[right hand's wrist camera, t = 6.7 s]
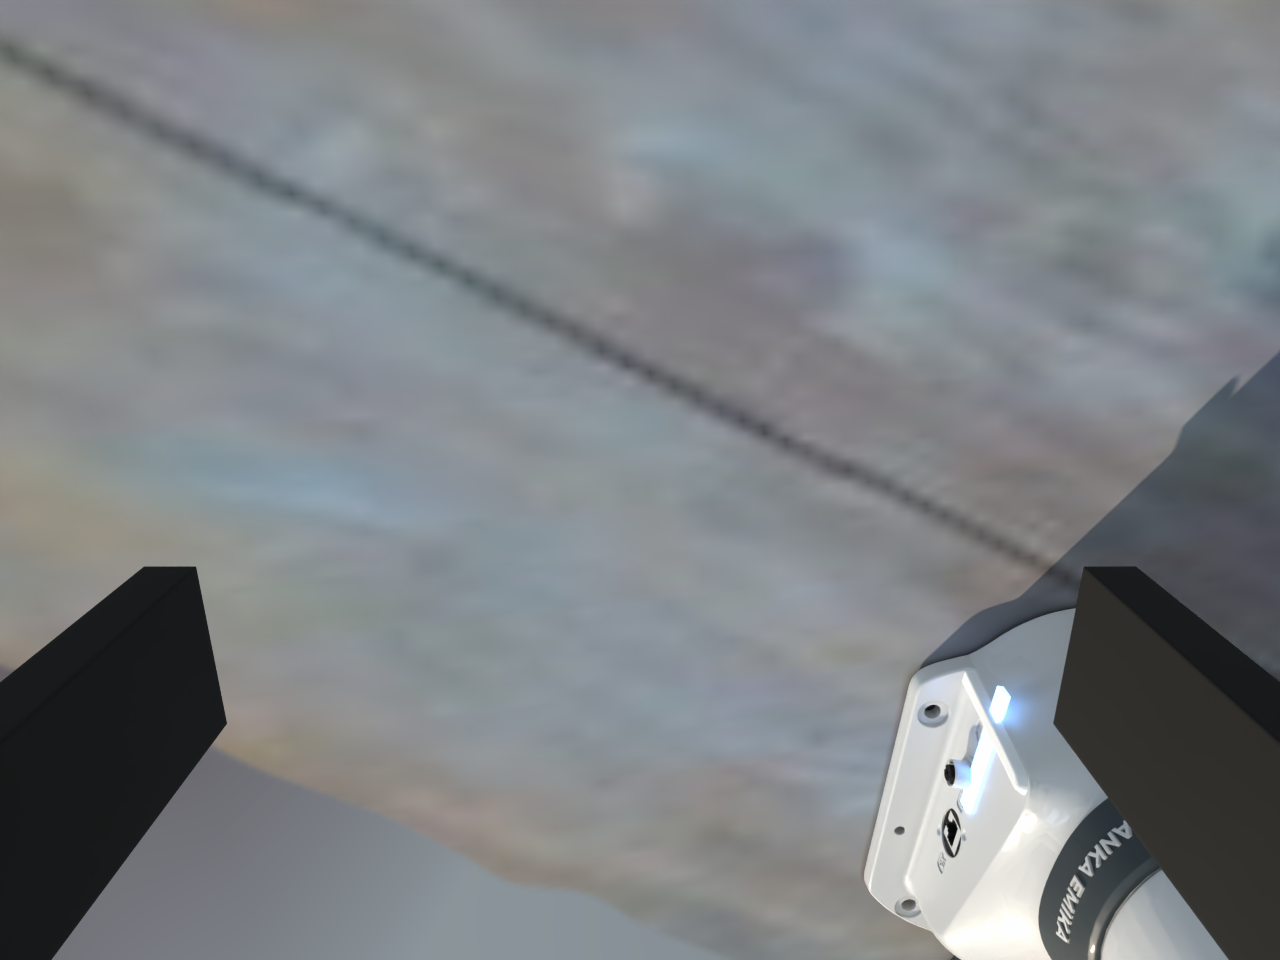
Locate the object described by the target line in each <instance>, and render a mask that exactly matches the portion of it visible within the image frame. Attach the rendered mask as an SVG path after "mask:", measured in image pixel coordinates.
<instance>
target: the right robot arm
mask: <svg viewBox="0 0 1280 960" xmlns="http://www.w3.org/2000/svg"><path fill="white" fill-rule="evenodd" d="M226 724H227V722H226V716H225V711H224V706H223V701H222V696H221V691H220V686H219V681H218V676H217V671H216V666H215V661H214V656H213V650H212V645H211V640H210V635H209V630H208V625H207V620H206V615H205V610H204V605H203V600H202V595H201V590H200V585H199V579H198V574H197V569H196V567H143V568H142V569H141V570H139V571H138V572H137V573H136V574H134V575H133V576H132V577H131V578H129V579H128V580H127V581H126V582H124V583H123V584H122V585H121V586H119V587H118V588H117V589H116V590H115V591H113V592H112V593H111V594H110V595H108V596H107V597H106V598H105V599H103V600H102V601H101V602H100V603H98V604H97V605H96V606H95V607H93V608H92V609H91V610H90V611H88V612H87V613H86V614H85V615H83V616H82V617H81V618H80V619H78V620H77V621H76V622H75V623H73V624H72V625H71V626H70V627H68V628H67V629H66V630H65V631H64V632H62V633H61V634H60V635H59V636H57V637H56V638H55V639H54V640H52V641H51V642H50V643H49V644H47V645H46V646H45V647H44V648H42V649H41V650H40V651H39V652H37V653H36V654H35V655H34V656H32V657H31V658H30V659H29V660H27V661H26V662H25V663H24V664H22V665H21V666H20V667H19V668H17V669H16V670H15V671H14V672H13V673H11V674H10V675H9V676H8V677H6V678H5V679H4V680H3V681H1V682H0V960H52V958H53V957H54V956H55V954H56V953H57V952H58V950H59V949H60V947H61V946H62V945H63V943H64V942H65V941H66V939H67V938H68V937H69V935H70V934H71V933H72V931H73V930H74V929H75V927H76V926H77V925H78V923H79V922H80V921H81V919H82V918H83V916H84V915H85V914H86V913H87V911H88V910H89V908H90V907H91V906H92V904H93V903H94V902H95V900H96V899H97V898H98V896H99V895H100V894H101V892H102V891H103V890H104V888H105V887H106V886H107V884H108V883H109V881H110V880H111V879H112V878H113V876H114V875H115V873H116V872H117V871H118V869H119V868H120V867H121V865H122V864H123V863H124V861H125V860H126V859H127V857H128V856H129V855H130V853H131V852H132V851H133V849H134V848H135V847H136V845H137V844H138V842H139V841H140V840H141V838H142V837H143V836H144V834H145V833H146V832H147V830H148V829H149V828H150V826H151V825H152V824H153V822H154V821H155V820H156V818H157V817H158V816H159V814H160V813H161V812H162V810H163V809H164V808H165V806H166V805H167V804H168V802H169V801H170V799H171V798H172V797H173V795H174V794H175V793H176V791H177V790H178V789H179V787H180V786H181V785H182V783H183V782H184V781H185V779H186V778H187V777H188V775H189V774H190V773H191V771H192V770H193V769H194V767H195V766H196V765H197V763H198V762H199V761H200V759H201V758H202V756H203V755H204V754H205V752H206V751H207V750H208V748H209V747H210V746H211V744H212V743H213V742H214V740H215V739H216V738H217V736H218V735H219V734H220V732H221V731H222V730H223V728H224V727H225V726H226ZM1053 724H1054V726H1055V727H1056V728H1057V730H1058V731H1059V732H1060V734H1061V735H1062V736H1063V738H1064V739H1065V740H1066V742H1067V743H1068V744H1069V746H1070V747H1071V748H1072V750H1073V751H1074V752H1075V754H1076V755H1077V756H1078V758H1079V759H1080V761H1081V762H1082V763H1083V765H1084V766H1085V767H1086V769H1087V770H1088V771H1089V773H1090V774H1091V775H1092V777H1093V778H1094V779H1095V781H1096V782H1097V783H1098V785H1099V786H1100V787H1101V789H1102V790H1103V791H1104V793H1105V794H1106V795H1107V797H1108V798H1109V800H1110V801H1111V802H1112V804H1113V805H1114V806H1115V808H1116V809H1117V810H1118V812H1119V813H1120V814H1121V816H1122V817H1123V818H1124V820H1125V821H1126V822H1127V824H1128V825H1129V826H1130V828H1131V829H1132V830H1133V832H1134V833H1135V834H1136V836H1137V837H1138V839H1139V840H1140V841H1141V843H1142V844H1143V845H1144V847H1145V848H1146V849H1147V851H1148V852H1149V853H1150V855H1151V856H1152V857H1153V859H1154V860H1155V861H1156V863H1157V864H1158V865H1159V867H1160V868H1161V869H1162V871H1163V872H1164V873H1165V875H1166V876H1167V878H1168V879H1169V880H1170V882H1171V883H1172V884H1173V886H1174V887H1175V888H1176V890H1177V891H1178V892H1179V894H1180V895H1181V896H1182V898H1183V899H1184V900H1185V902H1186V903H1187V904H1188V906H1189V907H1190V908H1191V910H1192V911H1193V913H1194V914H1195V915H1196V917H1197V918H1198V919H1199V921H1200V922H1201V923H1202V925H1203V926H1204V927H1205V929H1206V930H1207V931H1208V933H1209V934H1210V935H1211V937H1212V938H1213V939H1214V941H1215V942H1216V943H1217V945H1218V946H1219V947H1220V949H1221V950H1222V952H1223V953H1224V954H1225V956H1226V957H1227V958H1228V960H1280V682H1279V681H1277V680H1276V679H1275V678H1274V677H1272V676H1271V675H1270V674H1269V673H1267V672H1266V671H1265V670H1264V669H1263V668H1261V667H1260V666H1259V665H1258V664H1256V663H1255V662H1254V661H1253V660H1251V659H1250V658H1249V657H1248V656H1246V655H1245V654H1244V653H1243V652H1241V651H1240V650H1239V649H1238V648H1236V647H1235V646H1234V645H1233V644H1231V643H1230V642H1229V641H1228V640H1226V639H1225V638H1224V637H1223V636H1221V635H1220V634H1219V633H1218V632H1216V631H1215V630H1214V629H1213V628H1212V627H1210V626H1209V625H1208V624H1207V623H1205V622H1204V621H1203V620H1202V619H1200V618H1199V617H1198V616H1197V615H1195V614H1194V613H1193V612H1192V611H1190V610H1189V609H1188V608H1187V607H1185V606H1184V605H1183V604H1182V603H1180V602H1179V601H1178V600H1177V599H1175V598H1174V597H1173V596H1172V595H1170V594H1169V593H1168V592H1167V591H1165V590H1164V589H1163V588H1162V587H1161V586H1159V585H1158V584H1157V583H1156V582H1154V581H1153V580H1152V579H1151V578H1149V577H1148V576H1147V575H1146V574H1144V573H1143V572H1142V571H1141V570H1139V569H1138V568H1137V567H1084V569H1083V574H1082V579H1081V585H1080V590H1079V595H1078V600H1077V605H1076V610H1075V615H1074V620H1073V625H1072V630H1071V635H1070V640H1069V645H1068V650H1067V656H1066V661H1065V666H1064V671H1063V676H1062V681H1061V686H1060V691H1059V696H1058V701H1057V706H1056V711H1055V716H1054V722H1053Z"/></svg>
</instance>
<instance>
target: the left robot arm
mask: <svg viewBox="0 0 1280 960" xmlns="http://www.w3.org/2000/svg"><path fill="white" fill-rule="evenodd" d="M1075 610H1076V608H1073V609H1067V610H1062V611H1058V612H1054V613H1050V614H1046V615H1043V616H1040V617H1038V618H1035V619H1032V620H1030V621H1028V622H1025V623H1023V624H1021V625H1019V626H1017V627H1015V628H1013V629H1011V630H1010V631H1008V632H1006V633H1004V634H1003V635H1001V636H1000V637H998V638H997V639H995V640H994V641H992V642H990V643H989V644H987V645H986V646H984V647H982V648H981V649H979V650H977V651H975V652H973V653H971V654H969V655H964V656H960V657H956V658H952V659H948V660H944V661H940V662H937V663H934V664H931V665H928V666H926V667H924V668H922V669H921V670H919V671H918V672H917V673H916V674H915V675H914V676H913V677H912V679H911V681H910V684H909V688H908V692H907V696H906V700H905V704H904V708H903V712H902V717H901V721H900V725H899V729H898V733H897V737H896V742H895V746H894V750H893V754H892V758H891V762H890V766H889V771H888V775H887V779H886V783H885V787H884V791H883V796H882V800H881V804H880V808H879V812H878V816H877V821H876V825H875V829H874V833H873V837H872V841H871V845H870V850H869V854H868V858H867V862H866V867H865V872H864V880H865V883H866V885H867V887H868V889H869V891H870V893H871V894H872V895H873V896H874V898H875V899H876V900H877V901H878V902H880V903H881V904H882V905H883V906H884V907H885V908H887V909H888V910H889V911H891V912H892V913H894V914H895V915H897V916H899V917H901V918H902V919H904V920H906V921H908V922H910V923H912V924H915V925H917V926H919V927H922V928H924V929H927V930H930V931H932V932H933V933H934V934H935V936H936V937H937V939H938V940H939V941H940V942H941V943H942V944H943V945H944V946H945V948H947V949H948V950H949V951H950V952H951V953H952V954H954V955H955V958H954V960H1228V958H1227V957H1226V956H1225V954H1224V953H1223V952H1222V950H1221V949H1220V947H1219V946H1218V945H1217V943H1216V942H1215V941H1214V939H1213V938H1212V937H1211V935H1210V934H1209V933H1208V931H1207V930H1206V929H1205V927H1204V926H1203V925H1202V923H1201V922H1200V921H1199V919H1198V918H1197V917H1196V915H1195V914H1194V913H1193V911H1192V910H1191V908H1190V907H1189V906H1188V904H1187V903H1186V902H1185V900H1184V899H1183V898H1182V896H1181V895H1180V894H1179V892H1178V891H1177V890H1176V888H1175V887H1174V886H1173V884H1172V883H1171V882H1170V880H1169V879H1168V878H1167V876H1166V875H1165V873H1164V872H1163V871H1162V869H1161V868H1160V867H1159V865H1158V864H1157V863H1156V861H1155V860H1154V859H1153V857H1152V856H1151V855H1150V853H1149V852H1148V851H1147V849H1146V848H1145V847H1144V845H1143V844H1142V843H1141V841H1140V840H1139V839H1138V837H1137V836H1136V834H1135V833H1134V832H1133V830H1132V829H1131V828H1130V826H1129V825H1128V824H1127V822H1126V821H1125V820H1124V818H1123V817H1122V816H1121V814H1120V813H1119V812H1118V810H1117V809H1116V808H1115V806H1114V805H1113V804H1112V802H1111V801H1110V800H1109V798H1108V797H1107V795H1106V794H1105V793H1104V791H1103V790H1102V789H1101V787H1100V786H1099V785H1098V783H1097V782H1096V781H1095V779H1094V778H1093V777H1092V775H1091V774H1090V773H1089V771H1088V770H1087V769H1086V767H1085V766H1084V765H1083V763H1082V762H1081V761H1080V759H1079V758H1078V756H1077V755H1076V754H1075V752H1074V751H1073V750H1072V748H1071V747H1070V746H1069V744H1068V743H1067V742H1066V740H1065V739H1064V738H1063V736H1062V735H1061V734H1060V732H1059V731H1058V730H1057V728H1056V727H1055V726H1054V724H1053V722H1054V716H1055V711H1056V706H1057V701H1058V696H1059V691H1060V686H1061V681H1062V676H1063V671H1064V666H1065V661H1066V656H1067V650H1068V645H1069V640H1070V635H1071V630H1072V625H1073V620H1074V615H1075ZM930 705H936V706H935V707H934V708H933V709H931V710H925V709H926V708H927V707H928V706H930ZM908 899H909V900H908Z"/></svg>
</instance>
